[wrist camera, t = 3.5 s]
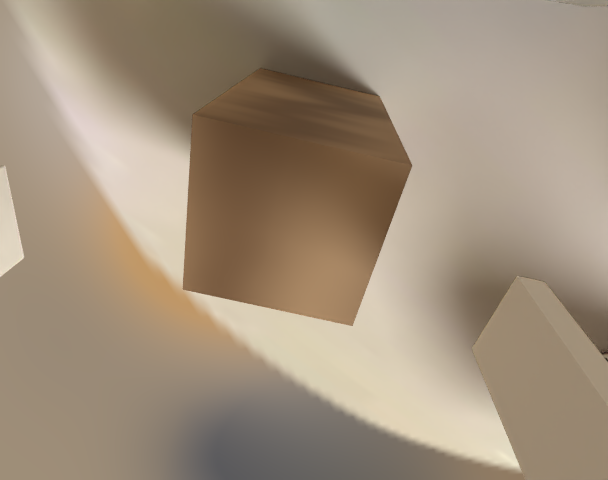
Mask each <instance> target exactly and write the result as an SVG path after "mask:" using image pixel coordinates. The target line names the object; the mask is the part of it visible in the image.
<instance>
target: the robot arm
mask: <svg viewBox="0 0 608 480" xmlns="http://www.w3.org/2000/svg"><path fill="white" fill-rule="evenodd" d="M23 258H24V255H23V250H22V245H21V240H20V235H19V230H18V225H17V221H16V216H15V211H14V207H13V201H12V196H11V192H10V187H9V182H8V177H7V172H6V168H5V166H3V165H0V277H1V276H2V275H3V274H4V273H6V272H7V271H8V270H9V269H10V268H12V267H13V266H14V265H16V264H17V263H18V262H19V261H21V260H22V259H23ZM472 351H473V353H474V356H475V358H476V361H477V363H478V365H479V368H480V370H481V373H482V375H483V378H484V380H485V383H486V385H487V387H488V390H489V392H490V395H491V397H492V400H493V402H494V404H495V407H496V409H497V412H498V414H499V417H500V419H501V421H502V424H503V426H504V429H505V431H506V434H507V436H508V438H509V441H510V443H511V446H512V448H513V451H514V453H515V456H516V458H517V460H518V463H519V465H520V468H521V470H522V473H523V475H524V477H525V480H608V362H607V361H606V359H605V358H604V357H603V356H602V354H601V353H600V352H599V351H598V349H597V348H596V347H595V345H594V344H593V343H592V342H591V340H590V339H589V338H588V336H587V335H586V334H585V333H584V331H583V330H582V329H581V328H580V326H579V325H578V324H577V322H576V321H575V320H574V319H573V317H572V316H571V315H570V313H569V312H568V311H567V310H566V308H565V307H564V306H563V305H562V303H561V302H560V301H559V299H558V298H557V297H556V296H555V294H554V293H553V292H552V290H551V289H550V288H549V287H548V285H547V284H546V283H545V282H544V281H539V280H534V279H530V278H525V277H520V276H516V278H515V280H514V281H513V283H512V284H511V286H510V288H509V289H508V291H507V292H506V294H505V296H504V297H503V299H502V301H501V302H500V304H499V305H498V307H497V309H496V310H495V312H494V313H493V315H492V317H491V318H490V320H489V322H488V323H487V325H486V326H485V328H484V330H483V331H482V333H481V334H480V336H479V338H478V339H477V341H476V343H475V344H474V346H473V347H472Z"/></svg>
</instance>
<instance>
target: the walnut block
mask: <svg viewBox="0 0 608 480" xmlns="http://www.w3.org/2000/svg"><path fill="white" fill-rule="evenodd" d="M411 167H412V164H411V162H410V160H409V158H408V155H407V153H406V151H405V149H404V147H403V145H402V143H401V141H400V138H399V136H398V134H397V132H396V130H395V128H394V126H393V124H392V122H391V119H390V117H389V115H388V113H387V111H386V109H385V107H384V105H383V102H382V100H381V98H380V96H376V95H372V94H367V93H363V92H359V91H355V90H350V89H346V88H342V87H338V86H334V85H329V84H325V83H321V82H317V81H313V80H308V79H304V78H300V77H296V76H292V75H287V74H283V73H279V72H275V71H270V70H266V69H262V68H260V69H258V70H257V71H255V72H254V73H252V74H251V75H249V76H248V77H247V78H245V79H244V80H242V81H241V82H239V83H238V84H236V85H235V86H233V87H232V88H231V89H229V90H228V91H226V92H225V93H223V94H222V95H220V96H219V97H217V98H216V99H214V100H213V101H212V102H210V103H209V104H207V105H206V106H204V107H203V108H201V109H200V110H198V111H197V112H195V113H194V114H193V115H192V133H191V151H190V169H189V187H188V205H187V223H186V241H185V259H184V276H183V290H188V291H192V292H197V293H202V294H206V295H211V296H216V297H220V298H225V299H230V300H234V301H239V302H244V303H248V304H253V305H258V306H262V307H267V308H271V309H276V310H281V311H285V312H290V313H295V314H299V315H304V316H309V317H313V318H318V319H323V320H327V321H332V322H337V323H341V324H346V325H350V326H353V323H354V320H355V318H356V315H357V312H358V309H359V307H360V304H361V301H362V299H363V296H364V293H365V291H366V288H367V285H368V283H369V280H370V277H371V275H372V272H373V269H374V267H375V264H376V261H377V258H378V256H379V253H380V250H381V248H382V245H383V242H384V240H385V237H386V234H387V232H388V229H389V226H390V224H391V221H392V218H393V216H394V213H395V210H396V207H397V205H398V202H399V199H400V197H401V194H402V191H403V189H404V186H405V183H406V181H407V178H408V175H409V173H410V170H411Z"/></svg>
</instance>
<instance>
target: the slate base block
mask: <svg viewBox="0 0 608 480" xmlns="http://www.w3.org/2000/svg"><path fill="white" fill-rule="evenodd" d="M549 1H555V2H561V3H567V4H573V5H579V6H585V7H588V6H608V0H549Z"/></svg>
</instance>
